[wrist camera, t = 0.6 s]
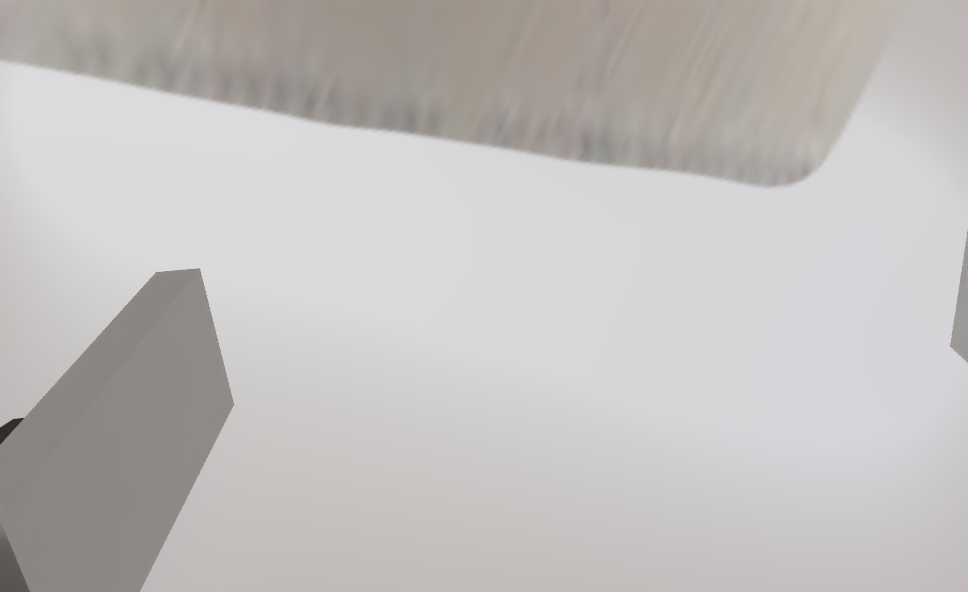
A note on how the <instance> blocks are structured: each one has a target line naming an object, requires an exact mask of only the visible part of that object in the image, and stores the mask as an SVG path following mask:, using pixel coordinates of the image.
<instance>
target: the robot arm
mask: <svg viewBox="0 0 968 592" xmlns="http://www.w3.org/2000/svg"><path fill="white" fill-rule="evenodd" d="M950 347H952V348H953V349H954V350H955V351H956V352H957V353H958V354H959V355H960V356H961V357H962V358H963V359H965V361H967V362H968V233H967V239H966V246H965V253H964V260H963V266H962V272H961V279H960V285H959V293H958V298H957V306H956V312H955V318H954V325H953V332H952V338H951V345H950ZM233 406H234V403H233V399H232V395H231V391H230V387H229V383H228V379H227V375H226V371H225V367H224V363H223V359H222V355H221V351H220V347H219V343H218V339H217V335H216V331H215V327H214V323H213V319H212V316H211V312H210V307H209V304H208V299H207V295H206V291H205V287H204V284H203V280H202V276H201V272H200V269H188V270H177V271H165V272H156V273H155V274H154V275H153V276H152V278H151V279H150V280H149V281H148V282H147V283H146V284H145V285H144V286H143V288H142V289H141V290H140V291H139V292H138V293H137V294H136V295H135V296H134V297H133V299H132V300H131V301H130V302H129V303H128V304H127V305H126V306H125V307H124V309H123V310H122V311H121V312H120V313H119V314H118V315H117V316H116V318H114V320H113V321H112V322H111V323H110V324H109V325H108V326H107V327H106V328H105V330H104V331H103V332H102V333H101V334H100V335H99V336H98V337H97V338H96V340H95V341H94V342H93V343H92V344H91V345H90V346H89V347H88V348H87V350H86V351H85V352H84V353H83V354H82V355H81V356H80V357H79V358H78V360H77V361H76V362H75V363H74V364H73V365H72V366H71V367H70V368H69V369H68V370H67V372H66V373H65V374H64V375H63V376H62V377H61V378H60V379H59V380H58V382H57V383H56V384H55V385H54V386H53V387H52V388H51V389H50V391H48V393H47V394H46V395H45V396H44V397H43V398H42V399H41V400H40V401H39V403H38V404H37V405H36V406H35V407H34V408H33V409H32V410H31V411H30V413H29V414H28V415H27V416H26V417H25V418H19V419H13V420H11V421H10V422H8V423H6V424H5V425H3V426H2V427H0V592H140V590H141V588H142V586H143V584H144V582H145V580H146V578H147V576H148V574H149V572H150V570H151V568H152V566H153V564H154V562H155V560H156V558H157V556H158V554H159V552H160V550H161V548H162V546H163V544H164V542H165V540H166V538H167V536H168V534H169V532H170V530H171V529H172V526H173V525H174V523H175V521H176V518H177V516H178V514H179V512H180V511H181V509H182V506H183V505H184V503H185V501H186V499H187V496H188V495H189V493H190V491H191V489H192V487H193V485H194V483H195V481H196V479H197V476H198V475H199V473H200V471H201V469H202V467H203V465H204V463H205V461H206V459H207V457H208V455H209V453H210V451H211V449H212V447H213V445H214V443H215V441H216V439H217V437H218V435H219V433H220V431H221V429H222V427H223V425H224V423H225V421H226V419H227V417H228V415H229V413H230V412H231V409H232V408H233Z"/></svg>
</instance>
